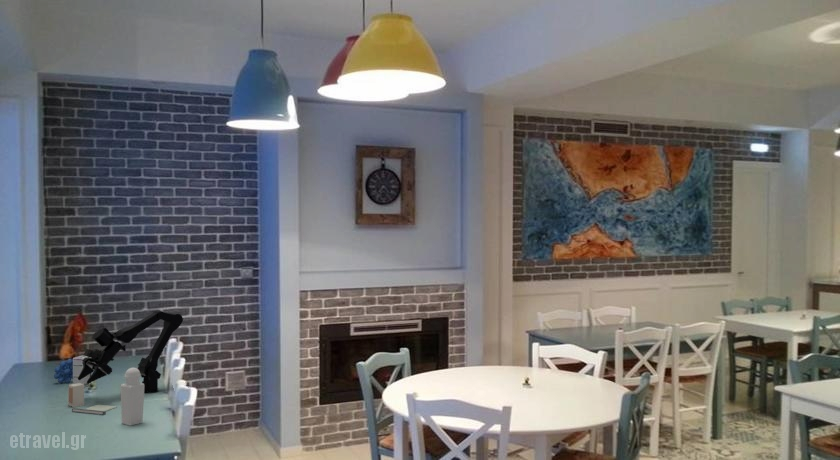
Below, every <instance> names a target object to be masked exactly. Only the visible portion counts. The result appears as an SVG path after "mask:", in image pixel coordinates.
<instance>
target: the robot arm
mask: <svg viewBox="0 0 840 460" xmlns="http://www.w3.org/2000/svg"><path fill="white" fill-rule="evenodd" d="M159 321H163V325H162V330H161V331H160V334H159V336H158V337H157V340H156V341H155V343H154V344H153V346H152V348H151V350H150V352H149V354H148V355H147V356H146V357H141V359H140V360H139V361H140V362H139V363H138V364H137V366H138V367H137V369H138V370H139V371H140V374H141V376H140V378H142V379H143V380H142V381H141V383H143V384H144V385H145V386H144V394H147V393H157V392H158V391H159V379H160V378H161V375H162V374H161V373H160V372H159V371H158V370H157V368H158V366H159V365H158V364H159V360H160V357H161V356H162V353H163V351H164V349H165V348H166V346H167V344H168V342H169V340H170V338H171V336H172V335H173V333H174V332H176V330H178V328H180V326H181V325H182V323H183V322H184V318H183V316H182V314H180V313H176V312H175V313H174V312H170V313H169V312H164V311H162V310H154V311H153V313H151V314H149V315H147V316H146V317H145V318H142V319H141V320H139V321H138V322H135V323H134V324H132V325H130V326H126V327H123V328H120V329H118V330H117V331H116V332H113V333H112V332H110V331H109V329H108V328H106V327H101V328H100V329H99V330H97V331H95V333H93V335H92V337H91V339H93V341H95V342H96V343H97V344H98V345H99V346H100V347H104V348H103V349H102V350H101V349H97V348H94V349H93V350H92V349H89V348H86V349H85V350H84V352H83V356H87V357H85V358H84V359H83V360H82V361H83V362H82V364H83V369H82V371H81V373H80V375H79V377H78V380H81V379H83V378H84V377H86V376H87V375H89V374H90V373H91V376H90V378H89V379H88V380H87V383H88V384H89V383H91V384H92V383H93V382H95V381H97V380H99V379H101V378H104V377H107V376H108V375H111V374H112V372H113V368H112V367H111V366H110V365H109V363H110V362H113V361H114V360H115V359H114V357H115V356H117V355H118V353H119V352H120V351H122V352H126V351H127V349H126V347H127V346H126V345H125V344H128V343H130V342H132V341H133V340H134V339H135V338H137V336H138V334H140V333H141V332H142V331H144V330H146V329H147V328H149V327H151V326H152V325H154V324H156V323H157V322H159ZM122 343H124V344H122ZM89 357H91V358H89Z"/></svg>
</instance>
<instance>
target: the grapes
mask: <svg viewBox="0 0 840 460" xmlns="http://www.w3.org/2000/svg"><path fill="white" fill-rule="evenodd" d="M54 372H55V373H54V375H53V378H54V380H57V383H58V384H63V383H65V384H69V383H70V382H72V380H73V358H69V359H67V360H66V361H65V360H62V361H60V362H59V366H56V367H55V368H54Z"/></svg>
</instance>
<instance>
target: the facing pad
mask: <svg viewBox="0 0 840 460" xmlns="http://www.w3.org/2000/svg"><path fill="white" fill-rule="evenodd" d="M117 408H118V406H115V405H106V404H105V405H104V404H95V405H93V406H90V407H89V406H88V407H87V408H85V409H88V410H97V411H106V412H109V411H111V410H114V409H117Z"/></svg>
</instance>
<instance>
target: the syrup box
mask: <svg viewBox="0 0 840 460" xmlns="http://www.w3.org/2000/svg"><path fill="white" fill-rule="evenodd" d="M85 357H87V356H84V355H79V356H75V357H73V358H72V359H73V379H72V384H77V383H81V384H84V388H86V387H89V386H90V385H89V384H88V383H87V380H88V379H89V378H90V376H91V375H92V373H90V374H89V375H87V376H86V377H84V378H83V379H81V380H78V377H79V375H80V373H81V371H82V369H83V364H82V362H83V361H82V360H83V359H84V358H85ZM89 358H92V357H89ZM88 385H89V386H88Z"/></svg>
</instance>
